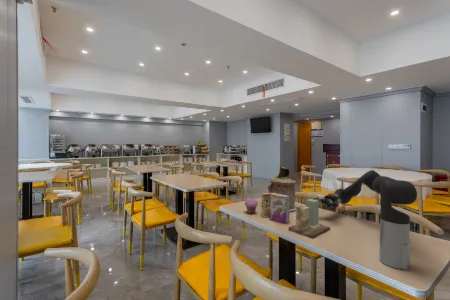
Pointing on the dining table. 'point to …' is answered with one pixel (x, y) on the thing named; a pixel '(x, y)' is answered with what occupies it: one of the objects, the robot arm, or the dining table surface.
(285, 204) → the candy bar box
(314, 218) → the green block
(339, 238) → the dining table surface
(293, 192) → the cookie jar
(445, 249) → the dining table surface
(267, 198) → the candy box
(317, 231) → the base board
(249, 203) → the cupcake
